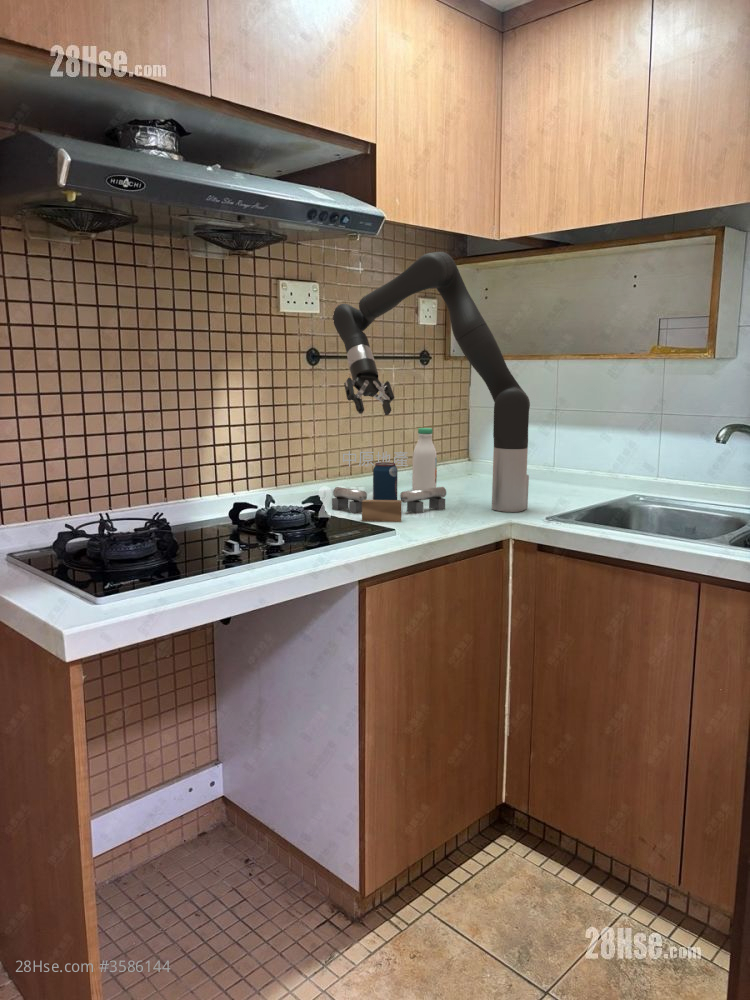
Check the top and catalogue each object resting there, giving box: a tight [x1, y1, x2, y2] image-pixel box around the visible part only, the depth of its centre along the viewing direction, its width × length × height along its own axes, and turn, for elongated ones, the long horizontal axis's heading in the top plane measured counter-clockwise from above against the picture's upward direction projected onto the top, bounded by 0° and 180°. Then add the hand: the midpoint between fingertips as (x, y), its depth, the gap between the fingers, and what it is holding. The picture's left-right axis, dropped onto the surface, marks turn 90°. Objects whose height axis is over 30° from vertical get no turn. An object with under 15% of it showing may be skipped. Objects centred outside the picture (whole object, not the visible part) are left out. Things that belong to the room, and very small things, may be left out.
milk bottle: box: [411, 427, 438, 490], centre depth 228 cm, size 8×8×20 cm
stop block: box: [361, 499, 403, 523], centre depth 183 cm, size 3×10×5 cm, turn 87°
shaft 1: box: [331, 486, 368, 514], centre depth 195 cm, size 10×4×6 cm, turn 47°
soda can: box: [372, 461, 398, 500], centre depth 203 cm, size 7×7×12 cm
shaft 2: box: [399, 486, 447, 514], centre depth 196 cm, size 14×4×6 cm, turn 127°
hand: (375, 413), depth 200 cm, fingers open, 8 cm apart
